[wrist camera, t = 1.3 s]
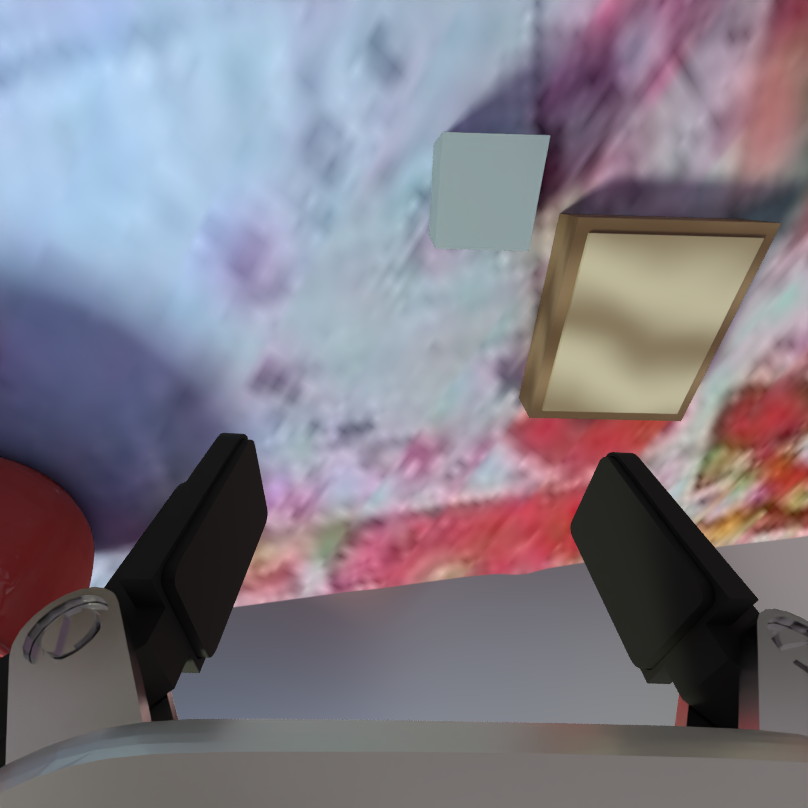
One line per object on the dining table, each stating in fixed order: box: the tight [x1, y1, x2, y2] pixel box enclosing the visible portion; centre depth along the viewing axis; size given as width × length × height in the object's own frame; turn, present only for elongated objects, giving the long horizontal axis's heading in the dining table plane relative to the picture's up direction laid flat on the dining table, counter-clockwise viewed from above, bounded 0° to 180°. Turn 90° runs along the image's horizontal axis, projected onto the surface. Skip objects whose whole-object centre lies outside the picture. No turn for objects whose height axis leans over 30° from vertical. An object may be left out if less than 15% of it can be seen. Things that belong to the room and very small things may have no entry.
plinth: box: [519, 214, 781, 421], centre depth 26 cm, size 14×12×3 cm
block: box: [429, 132, 550, 251], centre depth 21 cm, size 5×5×6 cm
